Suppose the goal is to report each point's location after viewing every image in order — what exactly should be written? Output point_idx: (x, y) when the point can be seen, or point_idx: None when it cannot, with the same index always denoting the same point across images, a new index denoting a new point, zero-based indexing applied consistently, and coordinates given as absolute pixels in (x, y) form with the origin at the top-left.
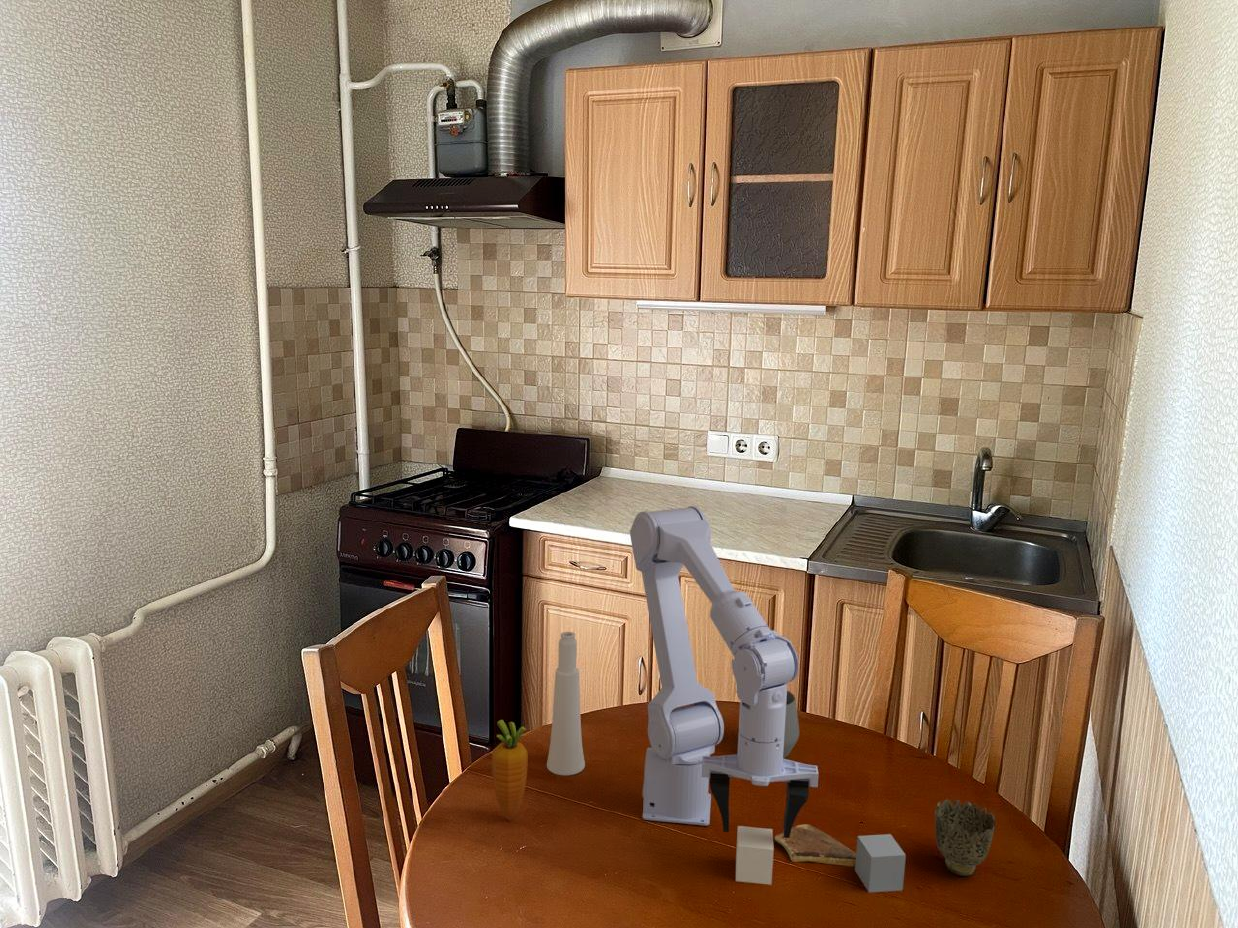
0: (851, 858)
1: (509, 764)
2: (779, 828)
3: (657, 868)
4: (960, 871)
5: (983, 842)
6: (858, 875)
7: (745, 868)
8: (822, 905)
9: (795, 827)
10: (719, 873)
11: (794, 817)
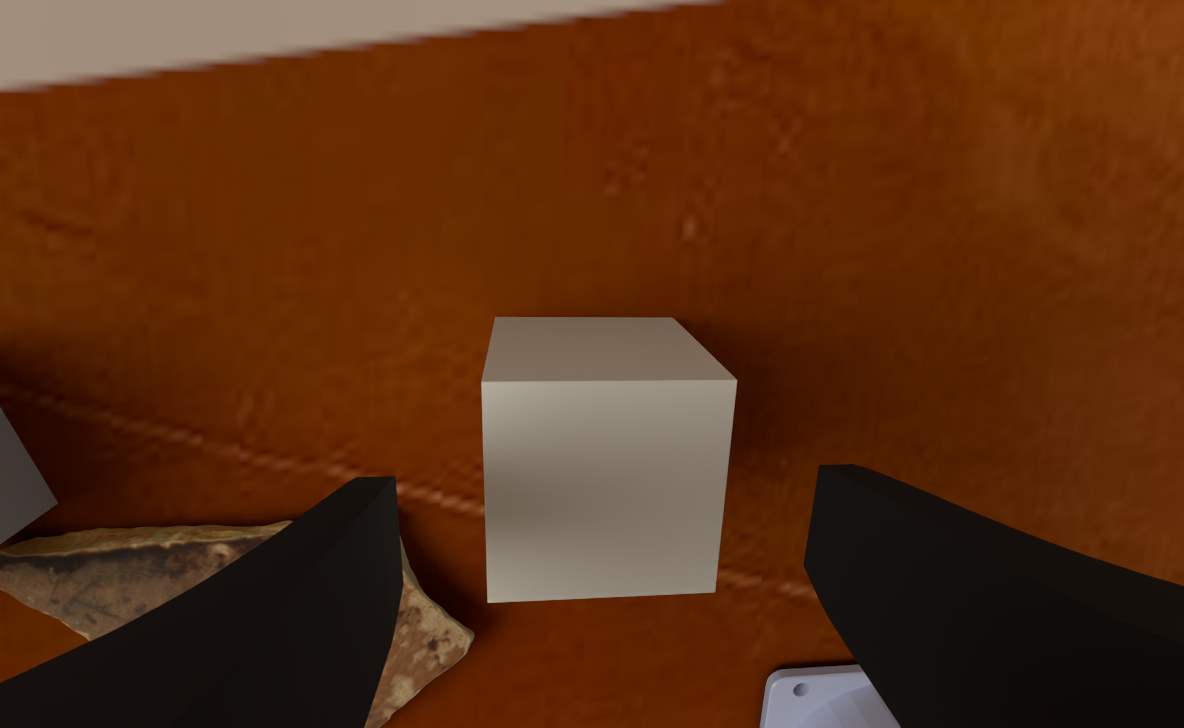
0: (57, 560)
1: None
2: (451, 719)
3: (1026, 348)
4: None
5: None
6: (33, 463)
7: (643, 335)
8: (214, 182)
9: (368, 724)
10: (747, 360)
11: (213, 577)
